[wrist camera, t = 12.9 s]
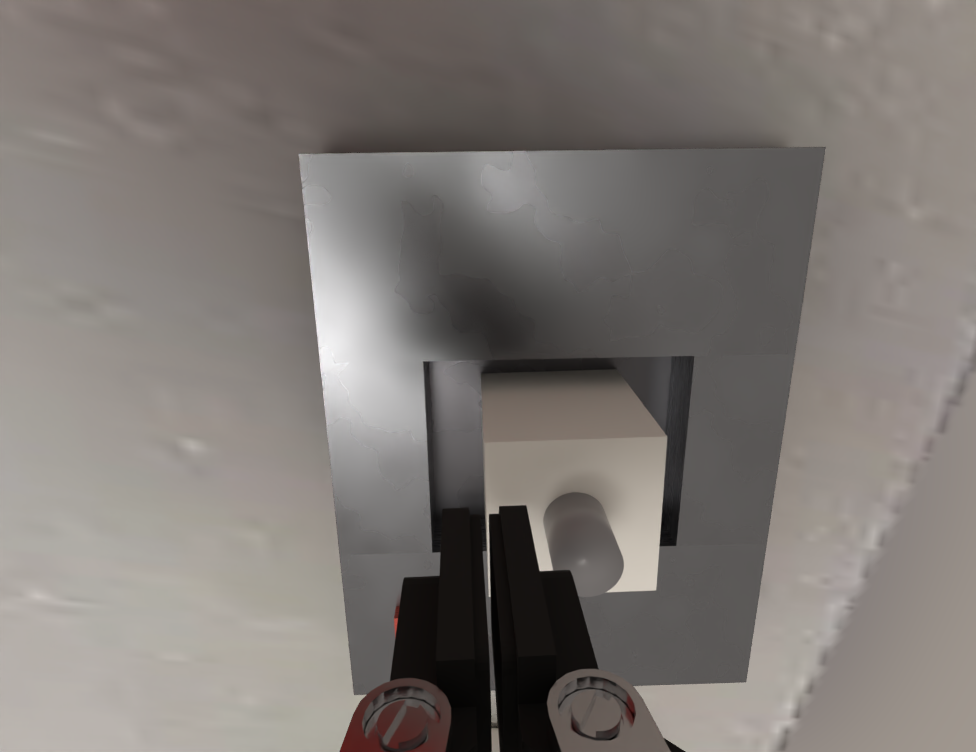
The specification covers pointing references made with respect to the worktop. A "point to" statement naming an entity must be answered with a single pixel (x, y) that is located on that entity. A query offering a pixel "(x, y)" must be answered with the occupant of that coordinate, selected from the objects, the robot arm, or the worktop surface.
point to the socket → (561, 362)
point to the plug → (577, 473)
